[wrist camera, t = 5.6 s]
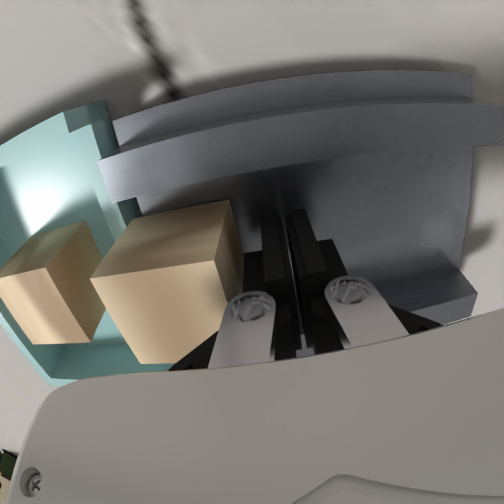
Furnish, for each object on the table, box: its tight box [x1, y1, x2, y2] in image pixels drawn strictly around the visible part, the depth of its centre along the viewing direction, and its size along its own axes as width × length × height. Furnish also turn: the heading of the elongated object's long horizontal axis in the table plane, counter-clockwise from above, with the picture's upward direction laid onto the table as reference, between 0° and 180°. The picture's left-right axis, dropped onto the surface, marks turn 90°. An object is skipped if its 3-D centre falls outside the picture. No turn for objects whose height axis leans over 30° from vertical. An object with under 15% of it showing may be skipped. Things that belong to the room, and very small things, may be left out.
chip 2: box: [90, 200, 244, 364], centre depth 11 cm, size 4×4×4 cm
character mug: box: [0, 451, 17, 504], centre depth 36 cm, size 11×7×13 cm, turn 105°
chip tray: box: [0, 100, 175, 386], centre depth 14 cm, size 10×14×4 cm
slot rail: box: [97, 70, 503, 357], centre depth 12 cm, size 14×12×4 cm
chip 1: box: [0, 220, 106, 344], centre depth 13 cm, size 4×4×4 cm
